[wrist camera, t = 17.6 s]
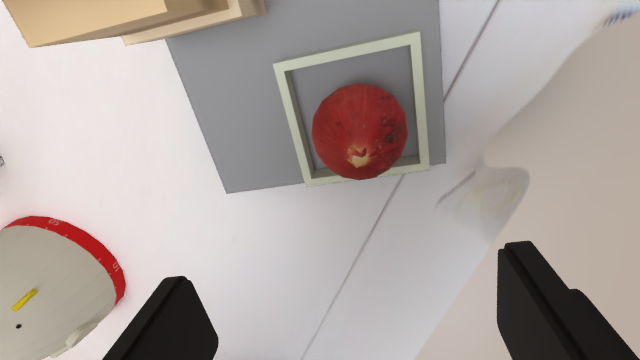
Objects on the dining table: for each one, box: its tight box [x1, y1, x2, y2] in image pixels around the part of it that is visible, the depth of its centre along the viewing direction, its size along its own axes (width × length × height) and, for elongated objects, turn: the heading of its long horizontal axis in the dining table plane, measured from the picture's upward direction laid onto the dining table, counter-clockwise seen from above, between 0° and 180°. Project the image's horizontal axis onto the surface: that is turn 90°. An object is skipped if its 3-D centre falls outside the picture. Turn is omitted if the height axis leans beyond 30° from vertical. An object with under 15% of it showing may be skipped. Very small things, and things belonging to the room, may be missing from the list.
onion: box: [311, 84, 408, 180], centre depth 20 cm, size 6×6×8 cm
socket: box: [273, 30, 430, 187], centre depth 23 cm, size 9×9×2 cm
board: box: [165, 0, 446, 194], centre depth 22 cm, size 22×18×1 cm
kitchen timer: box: [0, 216, 126, 360], centre depth 30 cm, size 14×14×15 cm
